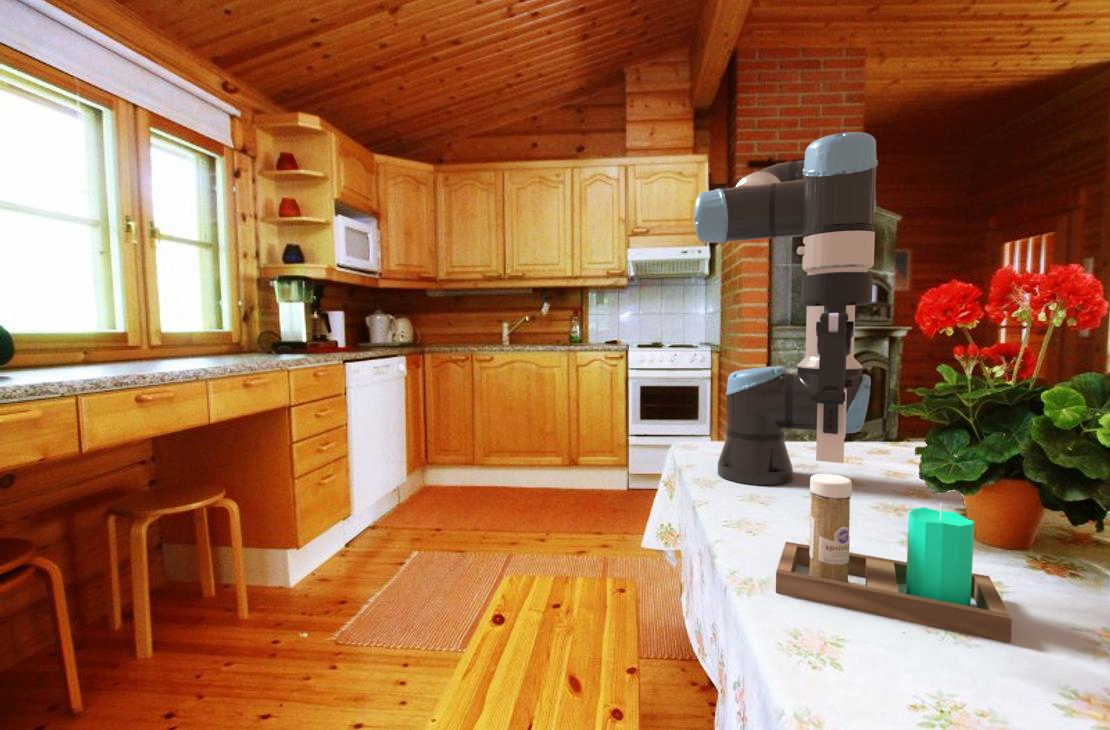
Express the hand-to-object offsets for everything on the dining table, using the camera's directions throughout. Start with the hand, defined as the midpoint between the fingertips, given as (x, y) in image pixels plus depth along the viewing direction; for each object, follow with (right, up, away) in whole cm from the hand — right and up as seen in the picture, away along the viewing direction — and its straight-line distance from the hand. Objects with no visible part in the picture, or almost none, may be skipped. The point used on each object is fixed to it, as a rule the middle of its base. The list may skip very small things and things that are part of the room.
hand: (832, 448), depth 66 cm
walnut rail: (+5, -17, -2) cm, 18 cm away
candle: (+10, -18, -4) cm, 20 cm away
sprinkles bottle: (0, -17, +1) cm, 17 cm away
